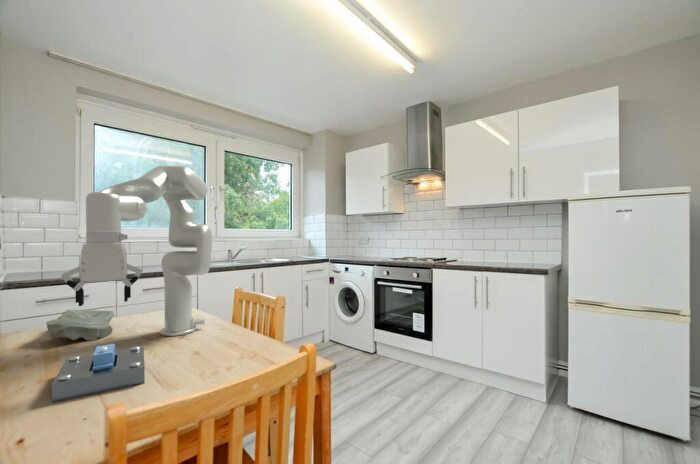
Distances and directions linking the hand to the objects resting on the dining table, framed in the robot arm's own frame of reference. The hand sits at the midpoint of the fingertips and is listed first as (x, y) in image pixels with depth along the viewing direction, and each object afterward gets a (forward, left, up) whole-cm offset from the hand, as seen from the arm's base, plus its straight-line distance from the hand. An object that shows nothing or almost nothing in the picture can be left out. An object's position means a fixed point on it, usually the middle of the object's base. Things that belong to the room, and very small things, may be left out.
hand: (104, 302), depth 88 cm
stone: (+10, -52, -21) cm, 57 cm away
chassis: (0, 0, -20) cm, 20 cm away
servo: (0, 0, -20) cm, 20 cm away
